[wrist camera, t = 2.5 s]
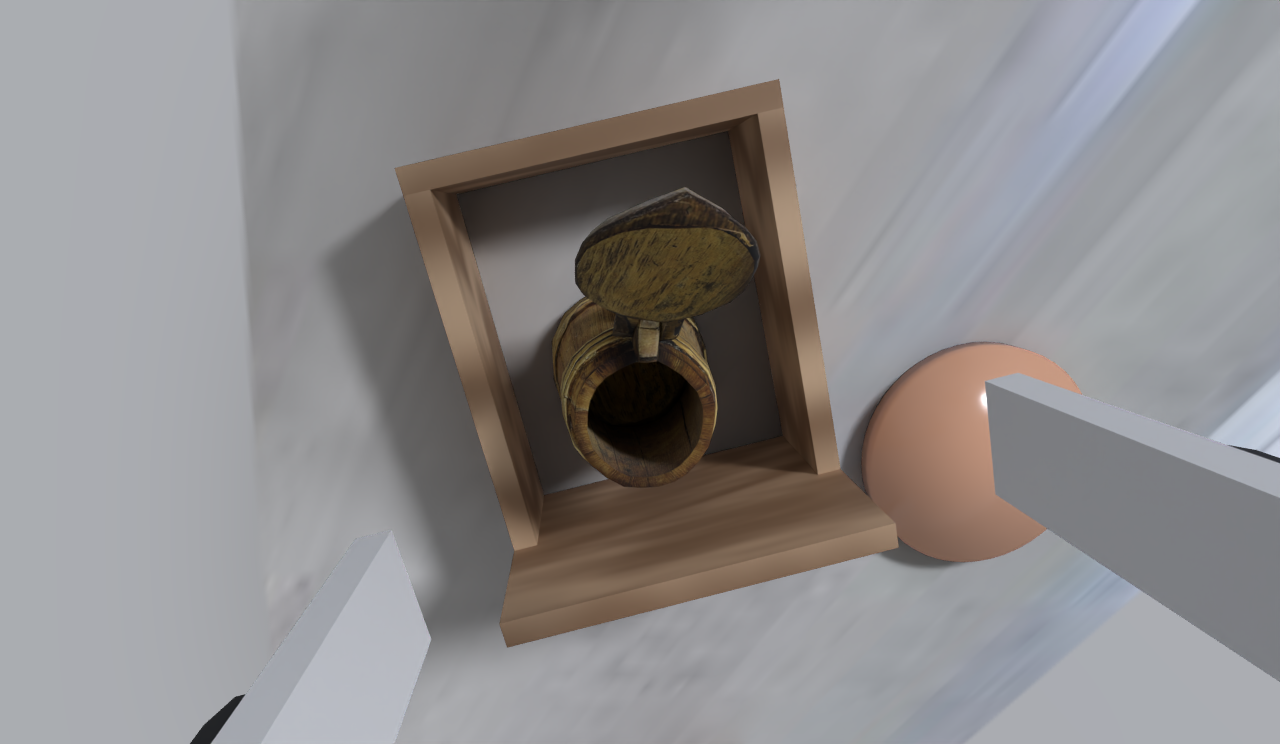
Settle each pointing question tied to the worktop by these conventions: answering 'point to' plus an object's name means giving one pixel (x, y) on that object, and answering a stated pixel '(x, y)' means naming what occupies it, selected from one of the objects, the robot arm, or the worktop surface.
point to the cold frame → (720, 482)
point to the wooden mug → (648, 336)
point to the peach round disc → (949, 453)
